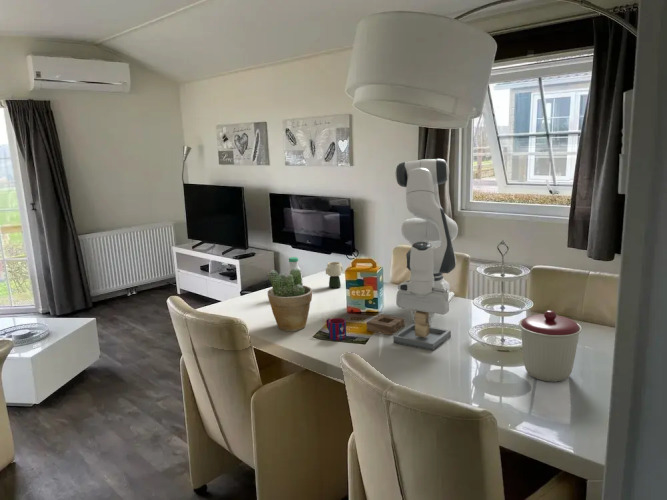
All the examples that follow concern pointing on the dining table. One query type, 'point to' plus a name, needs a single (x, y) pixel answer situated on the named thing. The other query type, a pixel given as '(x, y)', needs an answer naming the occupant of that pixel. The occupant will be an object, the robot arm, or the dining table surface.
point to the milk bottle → (293, 265)
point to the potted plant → (289, 300)
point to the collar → (386, 324)
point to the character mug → (334, 273)
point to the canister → (549, 345)
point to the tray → (422, 338)
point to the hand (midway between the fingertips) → (422, 321)
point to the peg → (421, 324)
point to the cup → (336, 328)
